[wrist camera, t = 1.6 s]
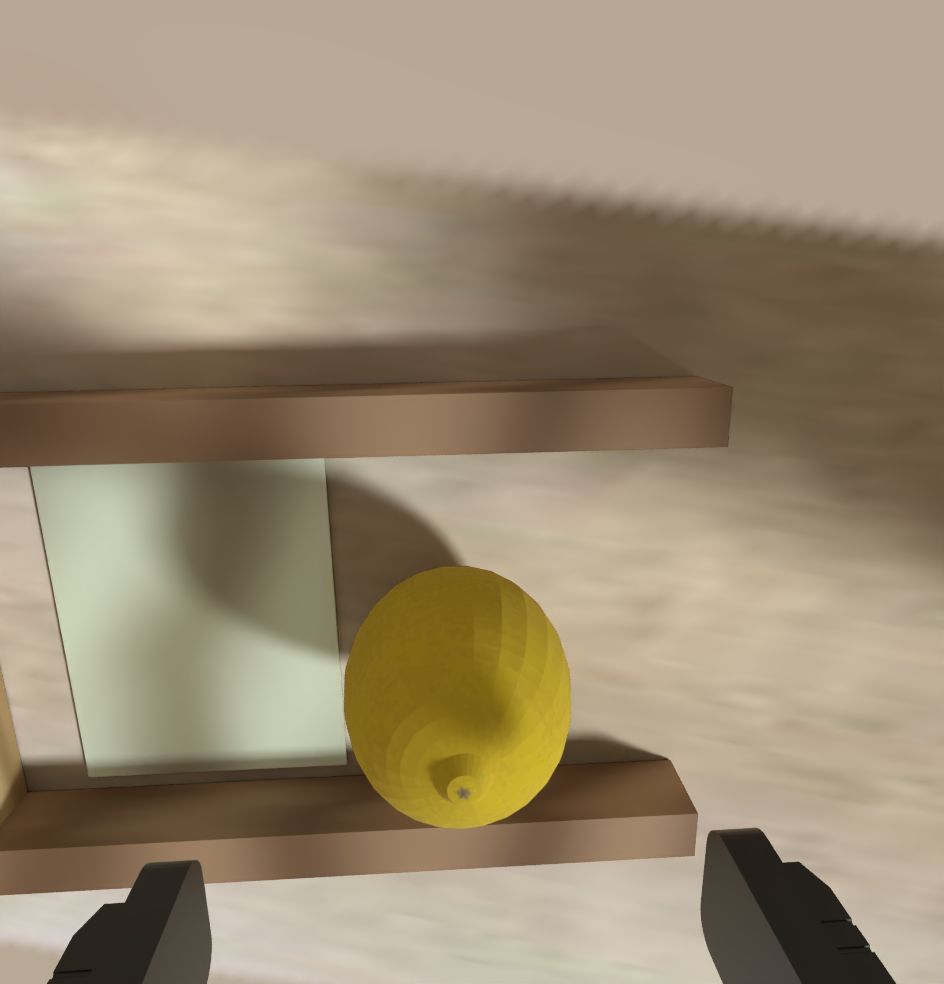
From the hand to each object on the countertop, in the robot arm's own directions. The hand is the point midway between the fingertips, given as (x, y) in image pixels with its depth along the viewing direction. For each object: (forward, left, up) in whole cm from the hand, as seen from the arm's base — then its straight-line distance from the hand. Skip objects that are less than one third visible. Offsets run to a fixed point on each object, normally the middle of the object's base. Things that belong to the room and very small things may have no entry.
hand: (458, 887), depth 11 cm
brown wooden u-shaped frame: (+4, 0, -11) cm, 11 cm away
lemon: (0, 0, -11) cm, 11 cm away
